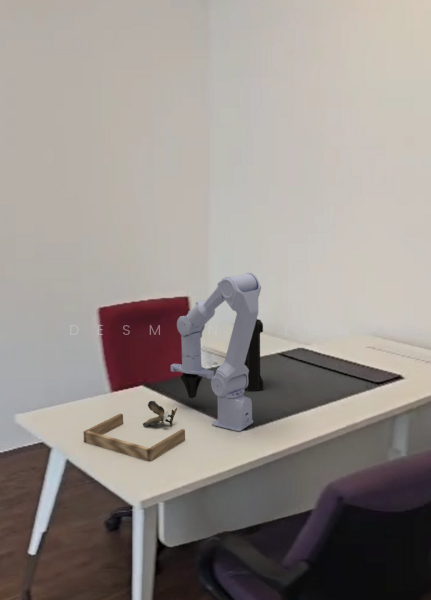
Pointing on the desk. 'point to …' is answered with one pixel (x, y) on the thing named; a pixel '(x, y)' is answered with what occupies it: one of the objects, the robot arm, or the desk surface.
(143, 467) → the desk surface
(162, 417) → the eagle figurine
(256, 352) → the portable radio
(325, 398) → the desk surface
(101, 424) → the box
